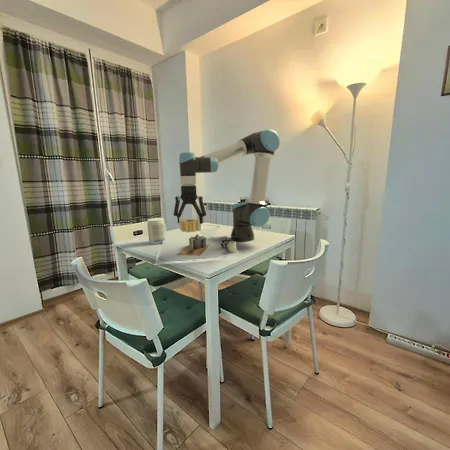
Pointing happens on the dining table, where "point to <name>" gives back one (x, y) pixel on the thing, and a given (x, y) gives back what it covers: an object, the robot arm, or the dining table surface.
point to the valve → (229, 245)
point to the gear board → (196, 251)
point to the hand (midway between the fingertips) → (190, 229)
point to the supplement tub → (156, 230)
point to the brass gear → (189, 225)
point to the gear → (198, 242)
